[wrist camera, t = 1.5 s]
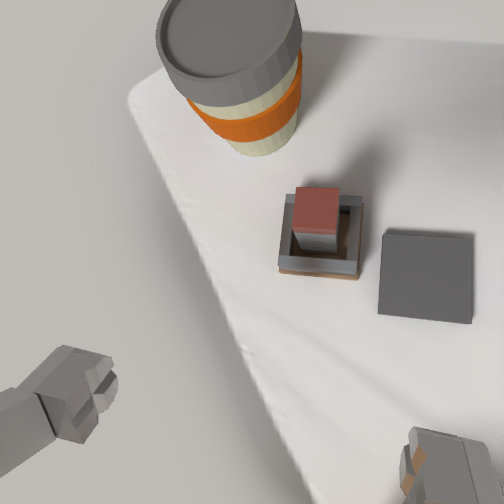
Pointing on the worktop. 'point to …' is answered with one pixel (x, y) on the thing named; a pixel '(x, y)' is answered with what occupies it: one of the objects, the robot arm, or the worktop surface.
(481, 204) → the worktop surface
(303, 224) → the steel peg
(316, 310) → the worktop surface
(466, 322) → the rubber pad
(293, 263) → the square open tray
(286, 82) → the reusable coffee cup
